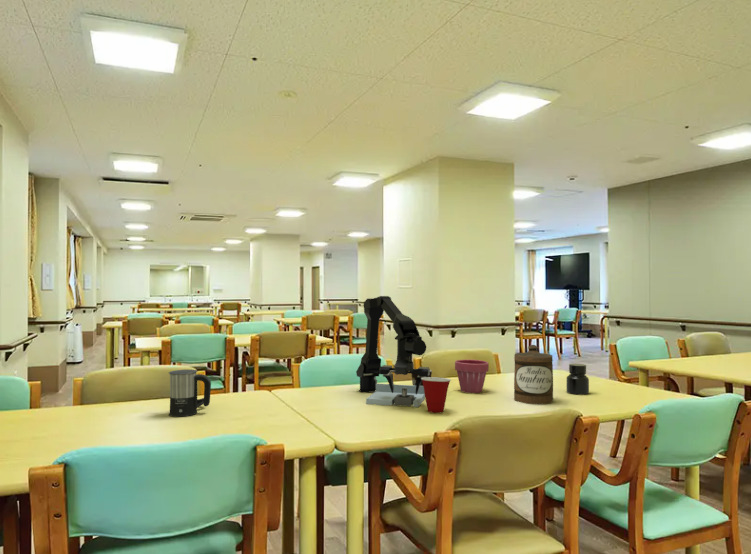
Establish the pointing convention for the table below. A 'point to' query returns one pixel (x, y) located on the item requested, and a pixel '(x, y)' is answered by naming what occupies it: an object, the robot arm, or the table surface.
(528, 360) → the wooden container
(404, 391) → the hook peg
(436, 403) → the plastic cup
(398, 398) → the square hollow frame
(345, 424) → the table surface
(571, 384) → the ink bottle
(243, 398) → the table surface
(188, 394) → the milk frother
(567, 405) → the table surface
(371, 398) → the grey walled base plate
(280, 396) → the table surface
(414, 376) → the coffee mug
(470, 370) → the plant pot
